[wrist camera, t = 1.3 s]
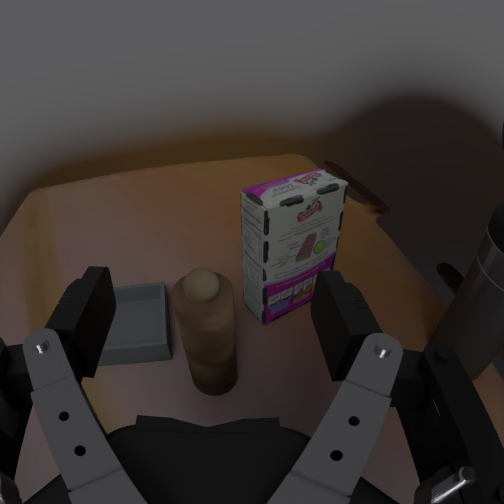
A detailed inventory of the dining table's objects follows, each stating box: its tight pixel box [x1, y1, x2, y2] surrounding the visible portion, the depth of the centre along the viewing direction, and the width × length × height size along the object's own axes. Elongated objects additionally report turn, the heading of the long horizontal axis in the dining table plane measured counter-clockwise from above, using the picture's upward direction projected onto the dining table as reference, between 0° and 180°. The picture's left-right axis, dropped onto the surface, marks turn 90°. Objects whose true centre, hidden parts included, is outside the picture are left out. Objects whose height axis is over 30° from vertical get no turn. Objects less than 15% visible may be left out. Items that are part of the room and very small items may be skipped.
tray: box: [98, 281, 172, 366], centre depth 36 cm, size 11×10×3 cm
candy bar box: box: [241, 168, 348, 325], centre depth 37 cm, size 11×5×16 cm, turn 123°
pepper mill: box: [172, 268, 237, 395], centre depth 28 cm, size 5×5×15 cm
